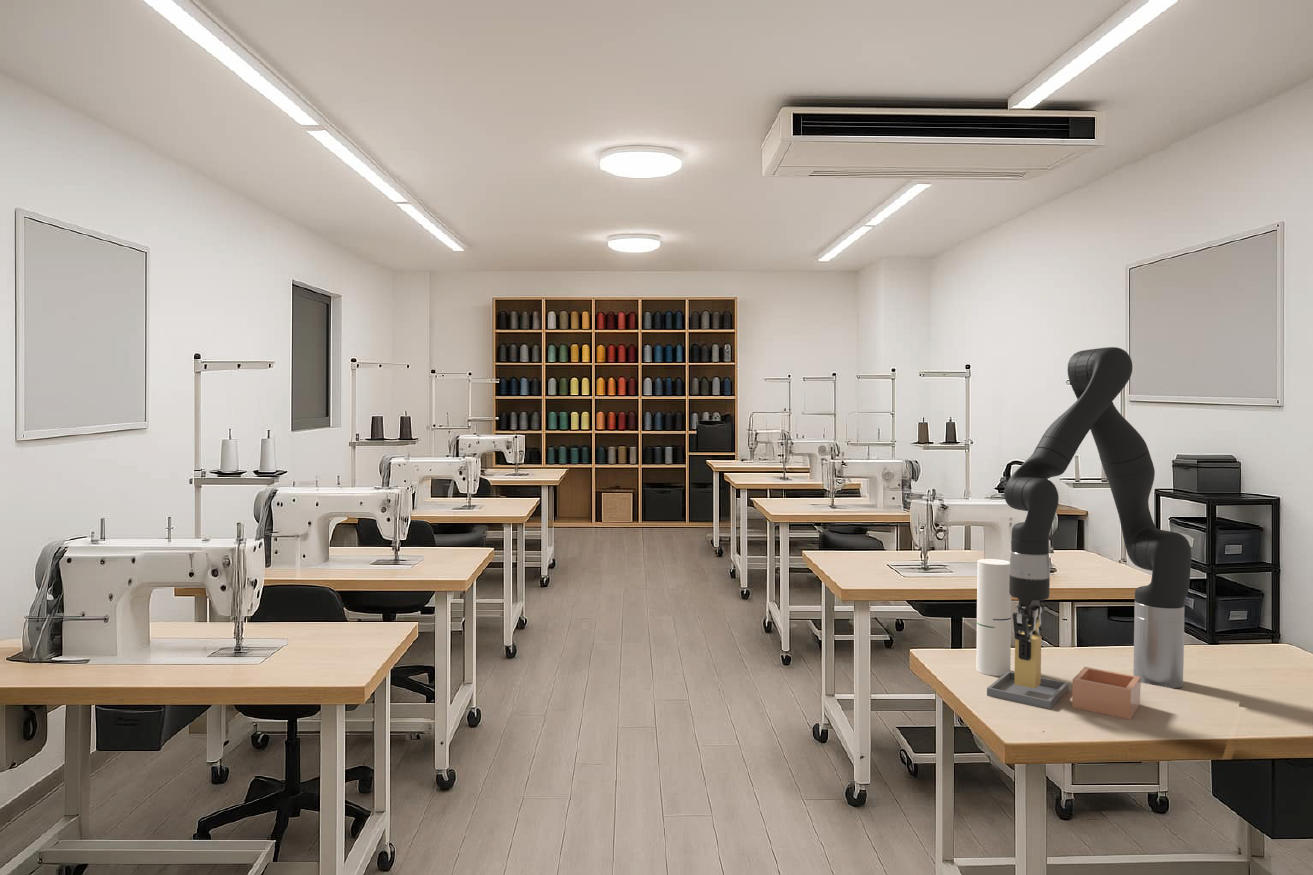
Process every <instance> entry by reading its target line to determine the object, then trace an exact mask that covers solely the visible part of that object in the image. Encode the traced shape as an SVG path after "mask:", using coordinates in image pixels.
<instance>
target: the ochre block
mask: <svg viewBox="0 0 1313 875" xmlns="http://www.w3.org/2000/svg"><path fill="white" fill-rule="evenodd" d="M1022 634H1024V635H1025V633H1024V631H1022ZM1014 672H1015V678H1014V684H1015V685H1020V686H1025V687H1029V688H1034V689H1035V688H1036V687H1038V686H1039V685H1040V684H1041V678H1042V675H1041V674H1042V635H1040V634H1039V635H1034V634H1032V641H1031V659H1030V660H1022V659H1020V658H1019V641H1018V640H1017V639H1015V638H1014Z"/></svg>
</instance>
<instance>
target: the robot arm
mask: <svg viewBox="0 0 1313 875" xmlns="http://www.w3.org/2000/svg"><path fill="white" fill-rule="evenodd" d="M1132 373H1133V361H1132V358H1131V356H1130V354H1129V353H1128V352H1127V351H1126V350H1125V349H1122V348H1120V347H1116V346H1110V347H1109V346H1108V347H1099V348H1092V349H1085V350H1084V349H1083V350H1080V351H1077V352H1075V353H1073V354H1072V355H1071V357H1070V358H1069V360H1068V362H1067V377H1068V380H1069V384H1070V386H1071V388H1072V391H1073V393H1074V395H1075V397H1076V401H1075V402H1074V403H1073V404H1072V405H1071V406H1069V407H1068V409H1067V410H1065V411H1064V412H1063V413H1062V414H1061V415H1060V416H1058V417H1057V419H1055V420H1054V421H1053V422H1051V424H1050V425H1049V426H1048V428H1046V430H1045V431H1044V433H1043V435H1042V436H1041V438H1040V440H1039V442H1038V444H1037V445H1036V447H1035V448H1034V451H1033V453H1032V454H1031V455H1030V456H1029V457H1028V458H1027V459H1026V460H1025V461H1024V462H1023V463H1022V464H1021V465H1020V466H1019V467H1018V468H1017V469H1016V470H1015V472H1013V473H1012V474H1011V476H1010V477H1009V479H1008V480H1007V482H1006V484H1005V487H1004V492H1003V495H1004V496H1003V497H1004V500H1005V503H1006V504H1007V506H1009V507H1010V508H1012V509H1015V510H1017V511H1018V510H1019V511H1025V512H1027V514H1026V517H1025V520H1024V522H1018V523H1015V524H1013V526H1012V528H1011V536H1010V537H1011V541H1010V542H1011V543H1010V544H1011V551H1010V556H1009V557H1010V559H1009V561H1010V575H1009V594H1010V595H1011V598H1016V599H1018V605H1017V606H1016V607H1015V608H1016V609H1015V612H1013V614H1012V622H1013V631H1014V640H1015V639H1017V640H1018V641H1019V658H1020V659H1022V660H1030V659H1031V641H1032V634H1034V635H1040V633H1042V630H1043V621H1044V620H1043V619H1044V610H1045V604H1044V603H1040V602H1041V601H1046V600H1048V599H1049V598H1050V584H1051V583H1050V582H1051V578H1050V576H1051V564H1050V563H1051V562H1050V553H1049V552H1050V549H1049V548H1050V543H1049V542H1050V532H1051V529H1052V526H1053V522H1054V518H1055V517H1056V514H1057V511H1058V510H1057V509H1058V504H1059V492H1058V488H1057V486H1056V485H1055V484H1054V483H1053V482H1052V481H1051V480H1049V479H1050V478H1054V477H1058V476H1061V475H1063V474H1064V473H1065V472H1066V471H1067V469H1068V467H1069V465H1070V463H1071V462H1072V461H1073V458H1074V456H1075V454H1076V453H1077V451H1078V448H1079V447H1080V446H1081V444H1082V443H1083V441H1084V439H1085V438H1086V436H1087V434H1088V433H1089V431H1090V433H1091V435H1092V437H1093V441H1094V443H1095V446H1096V448H1097V449H1096V450H1097V452H1098V455H1099V459H1100V461H1101V462H1100V463H1101V465H1102V468H1103V471H1104V474H1105V477H1106V479H1107V482H1108V485H1109V488H1110V491H1111V494H1112V497H1113V501H1114V504H1115V508H1116V511H1117V514H1118V518H1119V523H1120V526H1121V527H1120V528H1121V531H1122V532H1121V533H1122V538H1123V542H1124V545H1125V546H1124V547H1125V550H1126V554H1127V556H1128V558H1129V559H1130V561H1131V563H1132V564H1134V565H1135V567H1138V568H1140V569H1143V570H1147V571H1150V572H1151V571H1152V572H1151V574H1152V575H1151V580H1150V583H1149V584H1148V585H1144V586H1143V585H1142V586H1139V587H1136V588H1135V590H1134V610H1133V611H1134V621H1133V622H1134V626H1133V627H1134V628H1133V629H1134V630H1133V670H1132V671H1133V676H1138V677H1141V684H1147V685H1150V686H1151V685H1152V686H1157V687H1162V688H1167V689H1168V688H1169V689H1179V688H1180V689H1181V687H1183V686H1184V666H1185V665H1184V662H1185V661H1184V656H1185V654H1184V653H1185V650H1184V649H1185V604H1186V598H1187V596H1188V593H1189V591H1190V582H1191V571H1192V570H1191V568H1192V549H1191V545H1190V542H1189V540H1188V539H1187V537H1185V535H1183V534H1181V533H1179V532H1175V531H1170V530H1164V529H1160V528H1157V527H1156V525H1155V523H1154V520H1153V517H1152V514H1151V511H1150V506H1149V505H1150V504H1149V502H1150V499H1149V498H1150V494H1151V492H1152V489H1153V485H1154V482H1155V476H1156V475H1155V474H1156V472H1155V471H1156V470H1155V466H1154V463H1153V460H1152V457H1151V454H1150V451H1149V447H1148V445H1147V443H1146V441H1145V439H1144V438H1143V437H1142V436H1141V433H1139V432H1138V431H1137V429H1136V428H1135V427H1134V426H1133V425H1132V424H1131V423H1130V422H1129V421H1128V420H1127V419H1126V418H1125V417H1124V416H1123V415H1122V414H1121V413H1120V412H1119V410H1118V409H1117V407H1116V406H1115V404H1114V400H1115V399H1116V398H1117V397H1118V395H1119V394H1120V393H1121V392H1122V391H1123V389H1124V388H1125V387H1126V385H1127V384H1128V382H1129V380H1130V379H1131V376H1132ZM1022 632H1023V633H1025V635H1024V634H1022Z"/></svg>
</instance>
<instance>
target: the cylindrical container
mask: <svg viewBox="0 0 1313 875" xmlns="http://www.w3.org/2000/svg"><path fill="white" fill-rule="evenodd" d="M976 565H977V572H976V574H977V575H976V576H977V578H976V579H977V580H976V581H977V582H976V588H977V589H976V590H977V591H976V655H975V656H976V660H975V661H976V664H975V665H976V668H975V670H976V671H977V672H978V673H981V674H982V675H983V674H984V675H988V676H994V677H1001V676H1003V675H1004V674H1005V673H1006V672H1008V671H1011V658H1012V657H1011V655H1012V654H1011V651H1012V650H1011V648H1012V647H1011V646H1012V644H1011V643H1012V635H1011V634H1012V596H1011V595H1010V594H1009V575H1010V560H1009V561H1008V560H1005V559H998V558H981V559H980V558H979V559H978V560H977V564H976Z"/></svg>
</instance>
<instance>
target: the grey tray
mask: <svg viewBox="0 0 1313 875" xmlns="http://www.w3.org/2000/svg"><path fill="white" fill-rule="evenodd" d="M1014 678H1015V671H1011V670H1010V671H1008V672H1006V673H1005V674H1004V675H1003V676H999V677H998V679H996V680H995V681H994V682H992V683H991V684H989V686H988V687H986V696H989V697H991V698H997V699H1000V700H1001V699H1002V700H1006V701H1009V702H1010V701H1011V702H1015V703H1020V704H1023V705H1029V706H1034V707H1037V708H1042V709H1047V710H1051V709H1053V707H1054V706H1055V705H1056V704H1057V703H1058V702H1059V701H1060V700H1061V699H1062V698H1063V697H1064V696H1065V695H1066V694H1067V692H1068V691H1069V682H1066V681H1060V680H1056V679H1051V678H1045V677H1041V684H1040V685H1039V686H1038V687H1036V688H1035V689H1034V688H1029V687H1025V686H1020V685H1015V684H1014Z"/></svg>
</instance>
